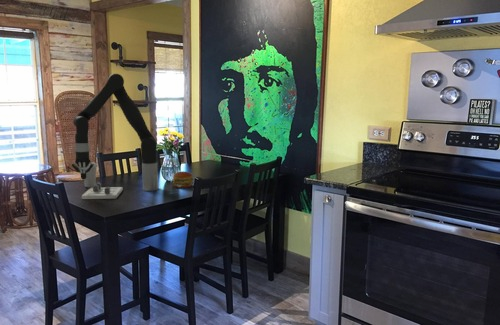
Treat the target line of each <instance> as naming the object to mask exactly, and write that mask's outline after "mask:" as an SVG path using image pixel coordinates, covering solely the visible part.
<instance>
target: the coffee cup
mask: <svg viewBox="0 0 500 325" xmlns="http://www.w3.org/2000/svg"><path fill="white" fill-rule="evenodd" d="M91 163H94V166H93V167H92V168H91V170H90V171H89V172H87V173H86V179H85V180H83V183H84V184H83V185H84V188H93V186H94V185H96V183H97V182H96V181H97V180H96V178H97V167H98V165H97V164H96V162H92V161H91ZM89 165H90V164H89ZM89 165H88V166H87V169H88V168H89V167H90V166H89Z"/></svg>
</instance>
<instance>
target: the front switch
mask: <svg viewBox="0 0 500 325" xmlns="http://www.w3.org/2000/svg"><path fill="white" fill-rule="evenodd" d="M109 193H110V187H109V186H106V188H105V194H109Z"/></svg>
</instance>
